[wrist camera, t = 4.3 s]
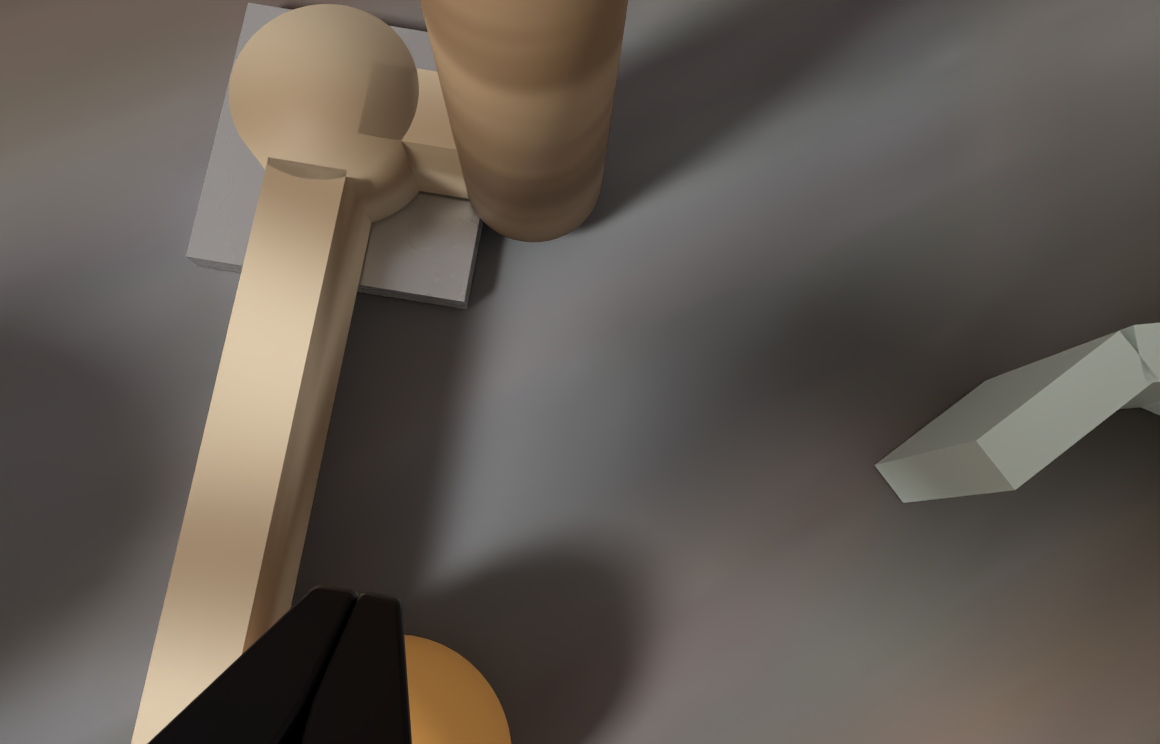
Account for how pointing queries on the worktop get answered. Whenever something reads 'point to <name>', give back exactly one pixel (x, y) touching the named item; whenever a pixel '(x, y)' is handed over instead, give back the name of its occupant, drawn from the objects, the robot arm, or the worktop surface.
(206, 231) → the pivot plate
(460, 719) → the ball
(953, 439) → the curved wall
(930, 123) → the worktop surface
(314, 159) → the flipper lever
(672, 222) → the worktop surface
